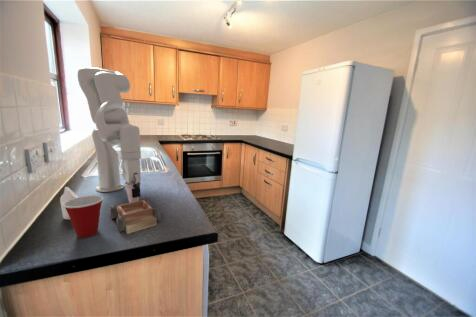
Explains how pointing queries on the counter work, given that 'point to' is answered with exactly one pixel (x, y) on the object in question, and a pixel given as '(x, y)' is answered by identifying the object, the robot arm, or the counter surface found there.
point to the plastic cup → (84, 214)
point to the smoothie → (130, 192)
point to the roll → (65, 197)
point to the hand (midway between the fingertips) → (133, 193)
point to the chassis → (134, 216)
